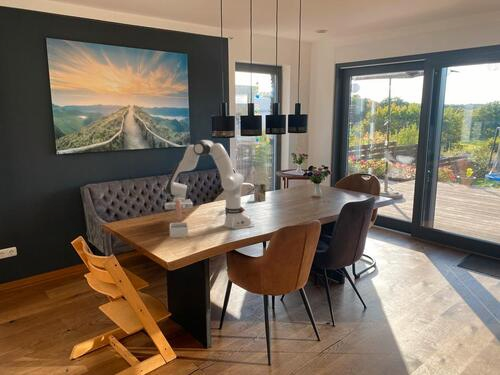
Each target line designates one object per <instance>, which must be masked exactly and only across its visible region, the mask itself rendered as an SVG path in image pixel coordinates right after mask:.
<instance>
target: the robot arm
mask: <svg viewBox="0 0 500 375" xmlns="http://www.w3.org/2000/svg"><path fill="white" fill-rule="evenodd" d="M208 155H210V156H211V158H212V159H213V160H214V163H215V165H216V167H217V169H218V172H219V175H220V180H221V182H220V183H221V187H222V189H223V190H225V191H226V195H225V207H224V208H225V209H224V214H225V218H224V224H223V226H224V227H225V228H227V229H232V230H239V229H246V228H253V227H255V223H254V222H253V221H252V220H251V217H250V216H249V215H248V214H247V213H246V212H245V211H246V210H245V208H244V207H243V206H242V204H241V200H242V190H243V183H244V175H243V174H241V173H240V172H234V166H233V165H234V164H233V162H232V160H231V158H230V156H229V154H228V151H227V150H226V149H225V147H224V146H223V144H222V143H220V142H217V143H215V142H214V141H213V140H211V139H201V140H198V141H196V142H195V143H194V144H190V145H188V146H187V147H186V149H185V152H184V155H183V158H182V160H181V161H180V162H177V163H176V164H175V166H174V169H173V170H172V173H171V174H170V176H169V179H168V181H166V184H165V186H164V191H165V193H166V194H167V195H172V196H174V197H173V199H172V202H171V201H169V202H165V203H164V210H176V202H175V200H181V210H184V209H192V208H194V207H193V202H192V200H191V199H190V198H188V197H189V194H190V187H189V186H188V184H184V183H180V182H175V180H176V178H177V176H178V174H179V173H181V172H182V173H183V172H188V171H189V172H190V171H193V170H195V168H196V167H197V165H198V162H199V159H200V156H202V157H203V156H208Z"/></svg>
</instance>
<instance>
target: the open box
mask: <svg viewBox="0 0 500 375" xmlns="http://www.w3.org/2000/svg"><path fill="white" fill-rule="evenodd" d="M188 227H189V226H188V222H171V223H169V238H170V239H171V238H173V239H174V238H175V239H176V238H189V231H188V229H189V228H188Z"/></svg>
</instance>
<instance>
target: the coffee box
mask: <svg viewBox="0 0 500 375" xmlns="http://www.w3.org/2000/svg"><path fill="white" fill-rule="evenodd" d="M253 199H254V200H253V202H256V203H261V202H266V184H264V183H258V184H257V183H256V184H254V185H253Z"/></svg>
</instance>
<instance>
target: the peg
mask: <svg viewBox="0 0 500 375" xmlns="http://www.w3.org/2000/svg"><path fill="white" fill-rule="evenodd" d="M175 202H176V209H175V217H176V218H175V219H176V220H177V221H179V220H182V218H183V214H182V213H183V212H182V210H183V209H181V200H175Z"/></svg>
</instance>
